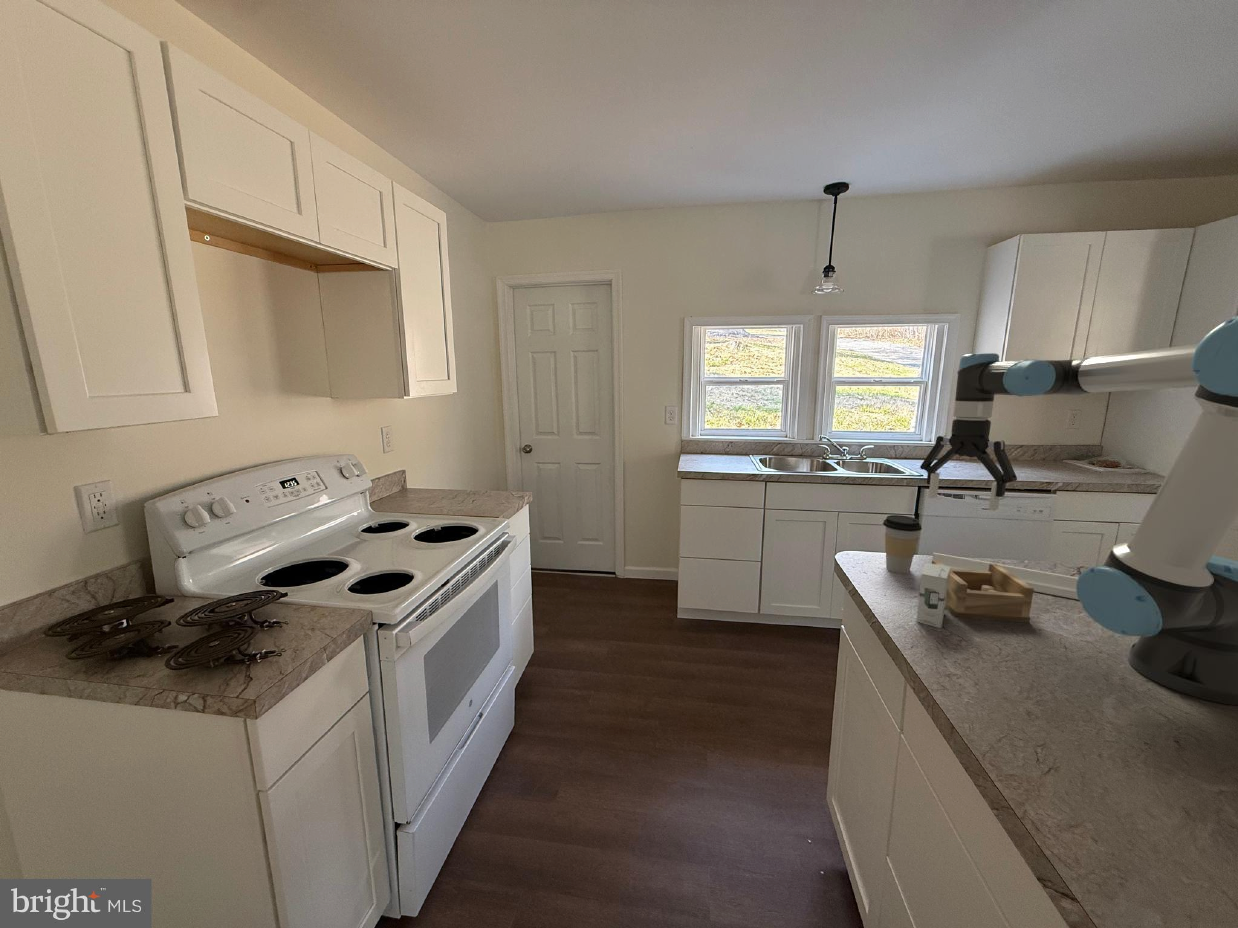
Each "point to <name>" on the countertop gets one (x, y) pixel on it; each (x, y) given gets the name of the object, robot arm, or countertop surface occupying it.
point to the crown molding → (1019, 575)
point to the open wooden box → (988, 594)
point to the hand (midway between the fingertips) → (961, 503)
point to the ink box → (933, 594)
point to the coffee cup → (900, 542)
